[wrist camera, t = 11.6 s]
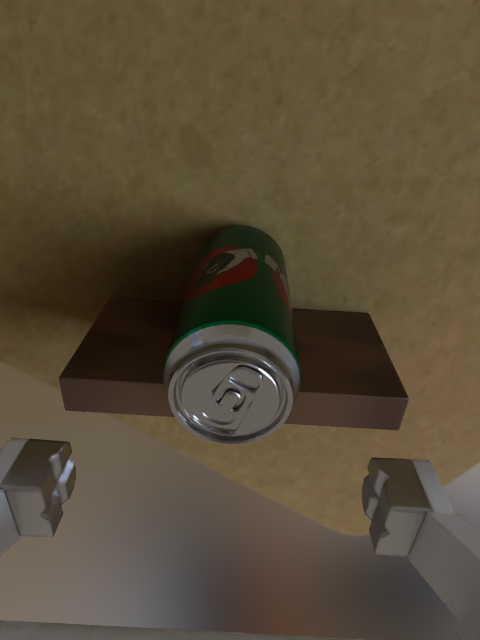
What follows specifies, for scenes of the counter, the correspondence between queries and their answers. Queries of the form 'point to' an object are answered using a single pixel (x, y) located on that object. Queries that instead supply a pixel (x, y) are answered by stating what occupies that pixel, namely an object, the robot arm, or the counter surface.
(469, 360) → the counter surface
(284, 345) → the soda can
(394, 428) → the brown rectangular block
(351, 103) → the counter surface
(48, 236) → the counter surface
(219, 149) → the counter surface
